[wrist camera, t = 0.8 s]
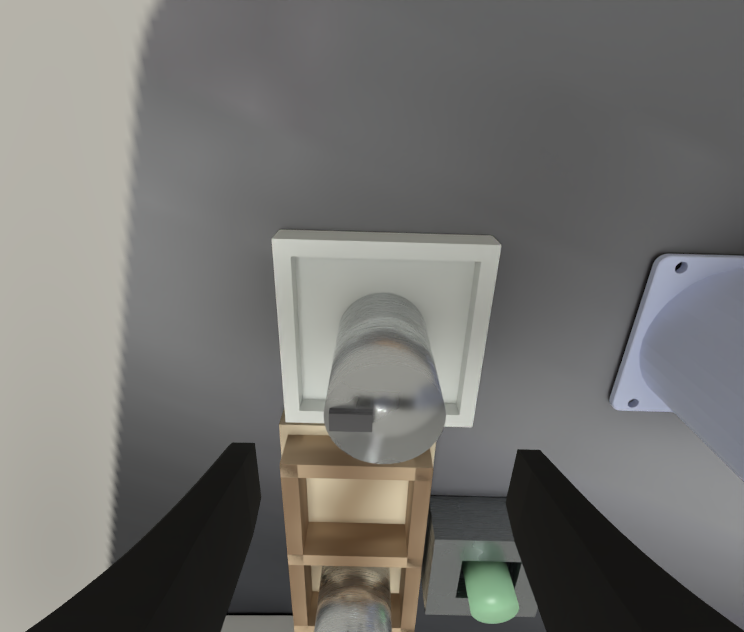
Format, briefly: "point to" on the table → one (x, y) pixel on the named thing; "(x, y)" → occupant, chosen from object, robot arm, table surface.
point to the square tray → (382, 275)
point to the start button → (490, 591)
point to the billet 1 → (383, 382)
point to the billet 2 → (354, 600)
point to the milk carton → (258, 623)
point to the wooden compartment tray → (351, 519)
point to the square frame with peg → (468, 552)
